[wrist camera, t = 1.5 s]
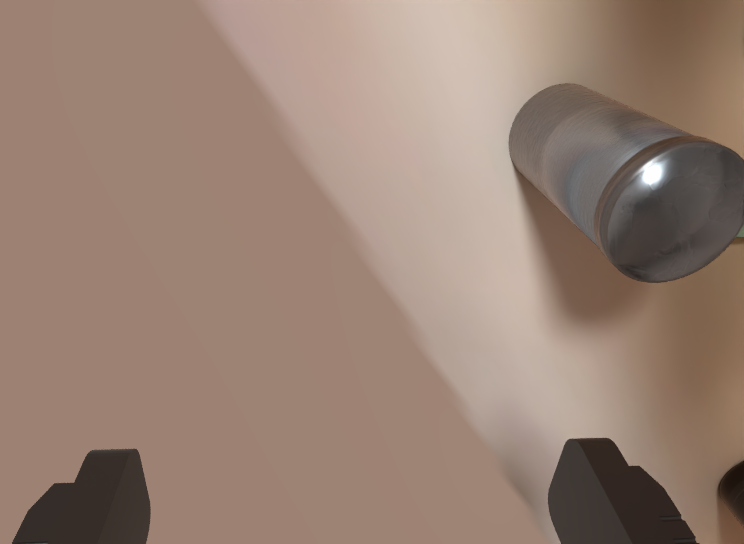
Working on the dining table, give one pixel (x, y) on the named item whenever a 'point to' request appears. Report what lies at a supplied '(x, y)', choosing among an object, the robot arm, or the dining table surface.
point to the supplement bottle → (734, 491)
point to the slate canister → (630, 181)
